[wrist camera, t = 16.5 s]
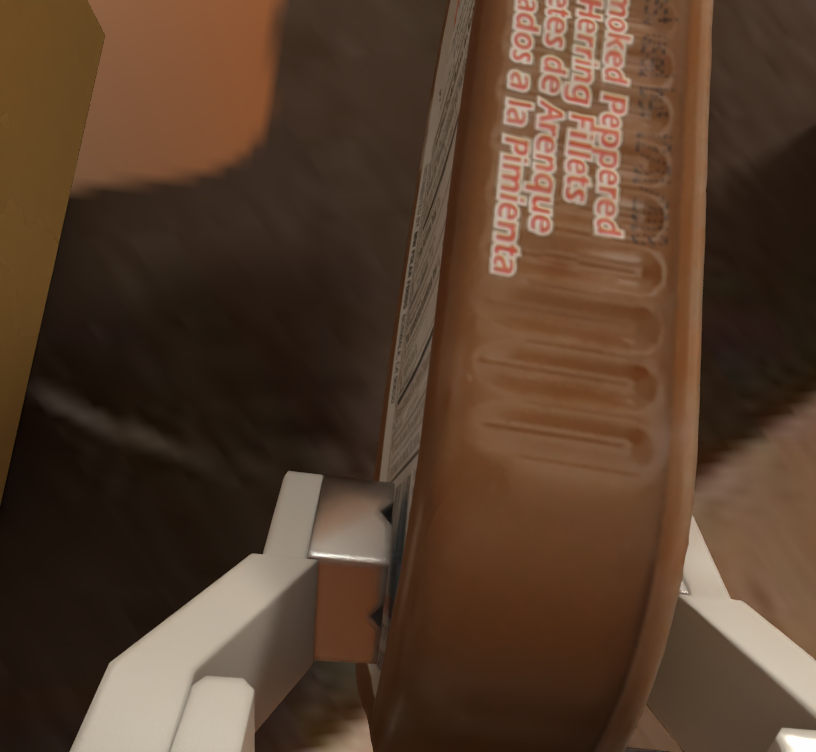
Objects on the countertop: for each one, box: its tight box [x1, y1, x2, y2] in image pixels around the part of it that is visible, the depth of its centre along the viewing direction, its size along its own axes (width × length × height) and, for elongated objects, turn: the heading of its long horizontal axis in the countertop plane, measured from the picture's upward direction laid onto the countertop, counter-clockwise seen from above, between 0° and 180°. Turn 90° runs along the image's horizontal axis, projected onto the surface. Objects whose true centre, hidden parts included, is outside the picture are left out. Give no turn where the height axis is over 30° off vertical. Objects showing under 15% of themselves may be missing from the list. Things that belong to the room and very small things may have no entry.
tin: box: [356, 0, 713, 752], centre depth 12 cm, size 15×3×8 cm, turn 172°
